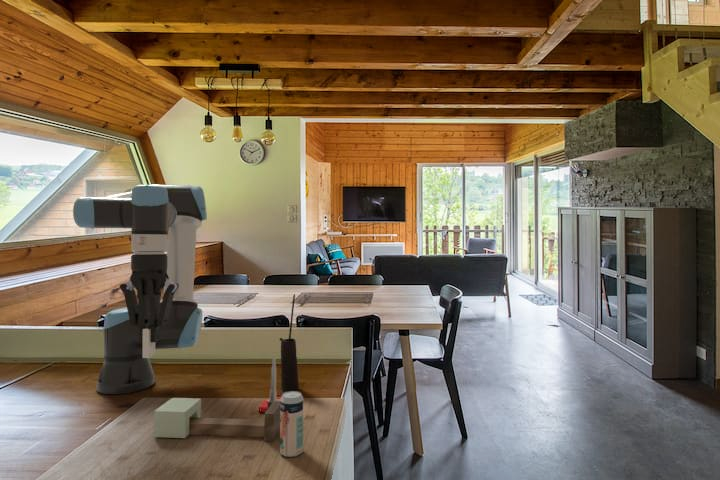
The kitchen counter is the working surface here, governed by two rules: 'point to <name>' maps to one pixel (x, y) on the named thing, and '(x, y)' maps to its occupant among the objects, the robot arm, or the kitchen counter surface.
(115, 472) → the kitchen counter surface
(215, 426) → the rail
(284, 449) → the beer can
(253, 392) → the kitchen counter surface
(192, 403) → the slider
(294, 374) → the butter churn
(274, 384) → the tow hook
